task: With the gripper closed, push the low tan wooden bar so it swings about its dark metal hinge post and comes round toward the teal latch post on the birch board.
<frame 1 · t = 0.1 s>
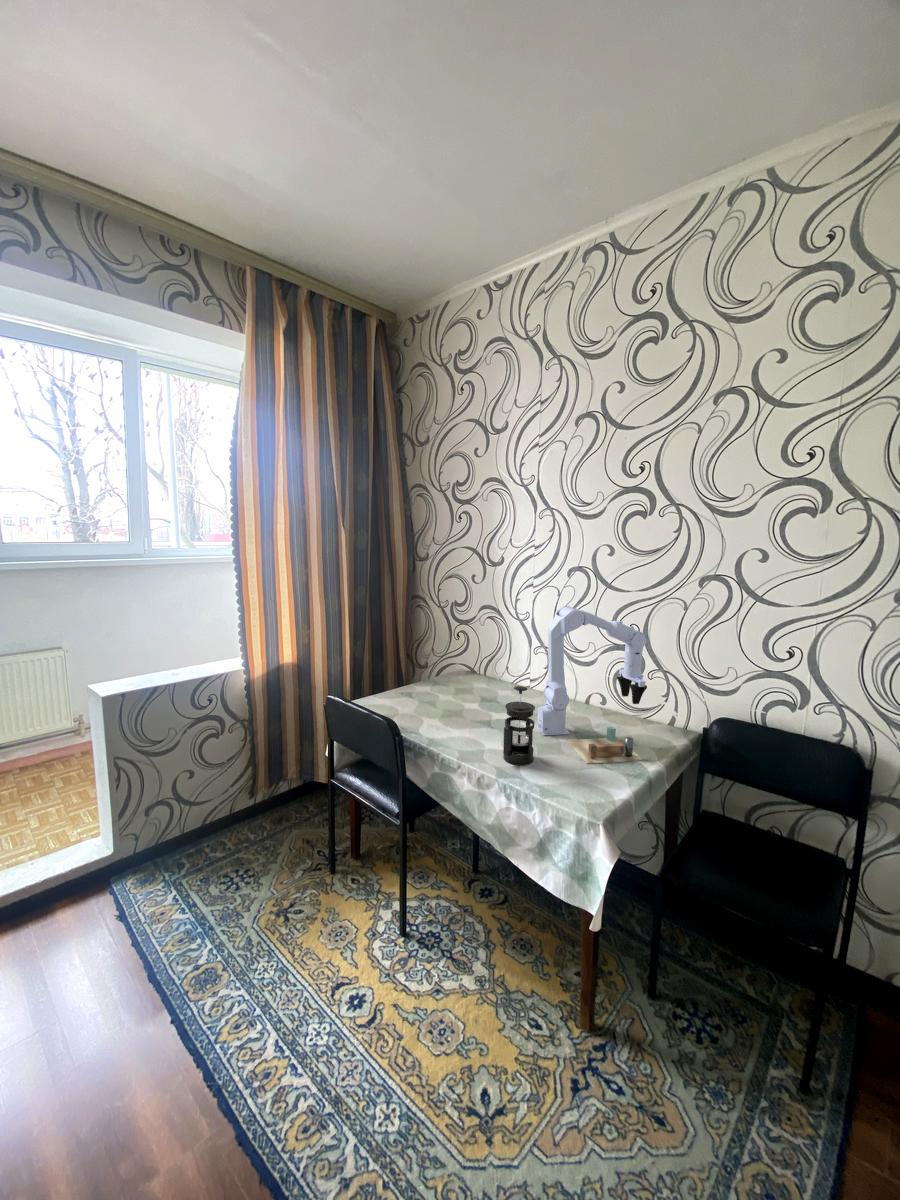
hand: (630, 699, 175), 10 cm above the table, fingers open, 7 cm apart
hinge post: (628, 756, 154), resting on board
board: (602, 750, 158), on the table
french press: (517, 759, 152), on the table
latch post: (610, 740, 165), resting on board
tan wooden bar: (606, 749, 152), point 3 cm above the table, hinge at 0.0°
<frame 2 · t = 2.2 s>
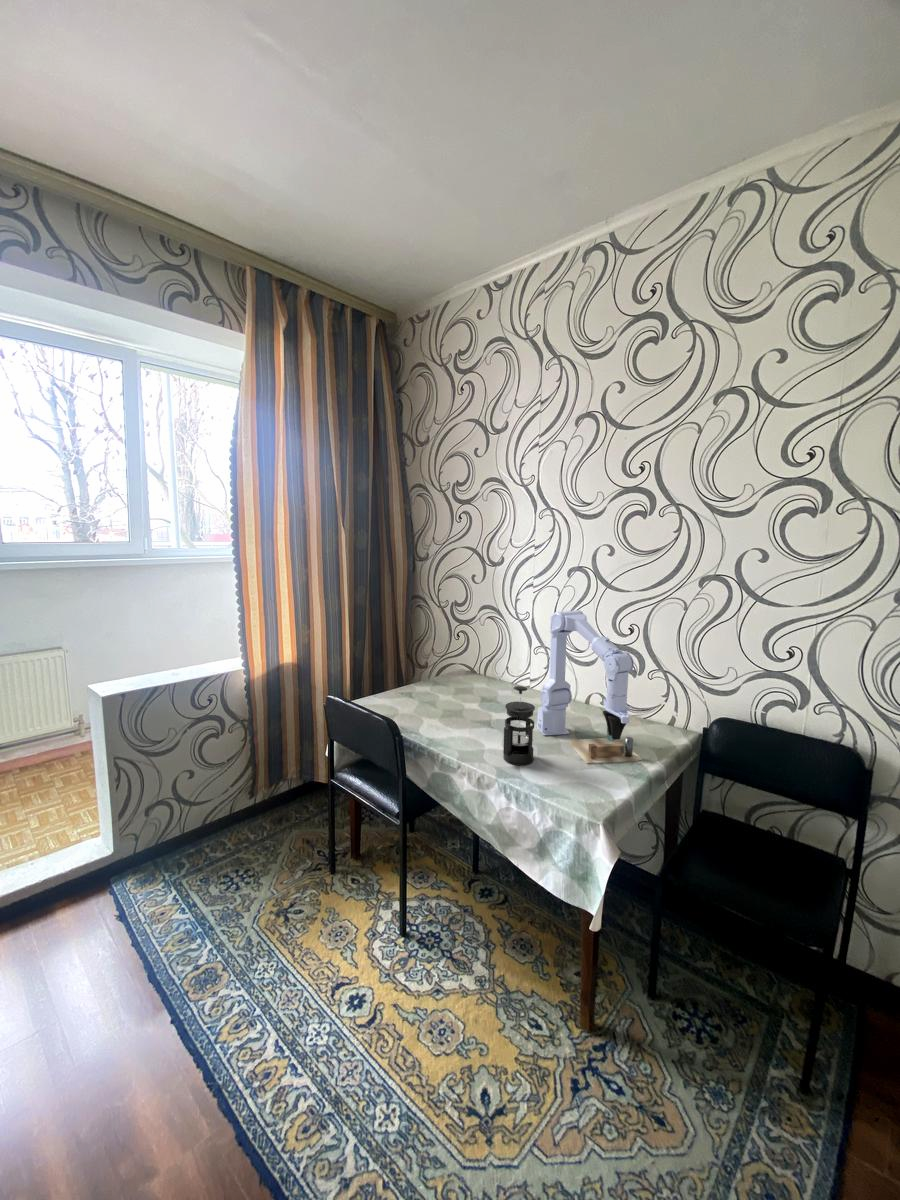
hand: (614, 737, 146), 9 cm above the table, fingers closed
nothing on the table moved.
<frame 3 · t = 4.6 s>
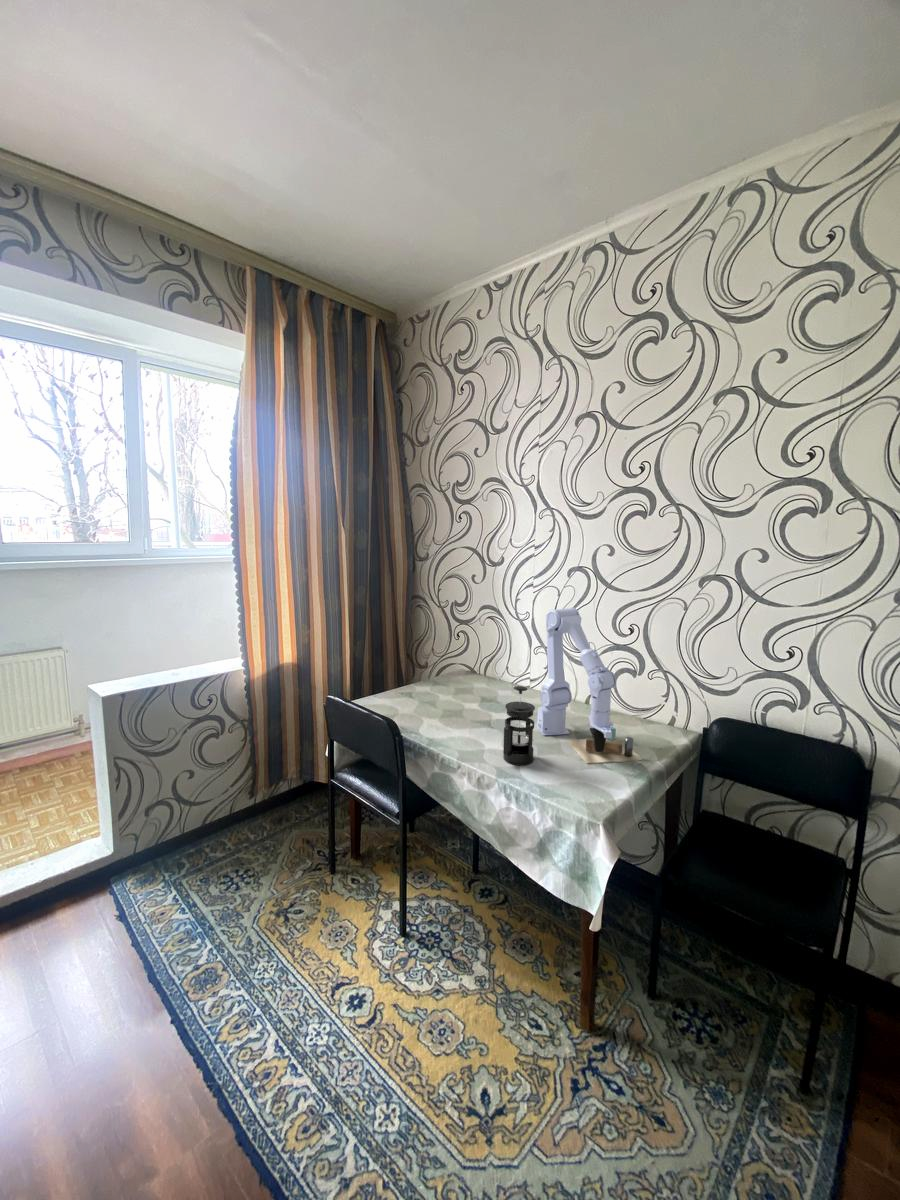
hand: (598, 751, 154), 2 cm above the table, fingers closed, pressing on tan wooden bar
tan wooden bar: (603, 745, 155), point 3 cm above the table, hinge at 20.0°, touching gripper
everything else where it was.
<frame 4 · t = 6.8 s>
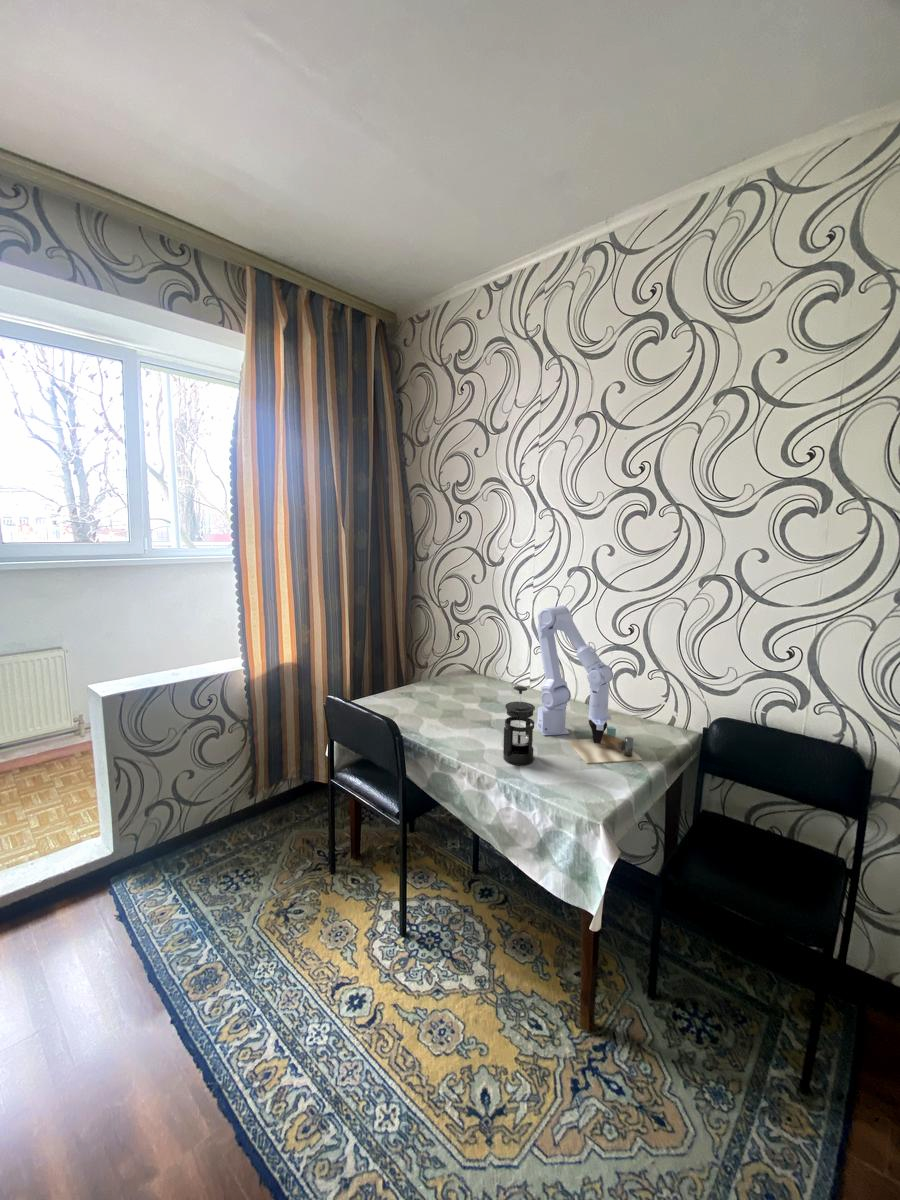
hand: (596, 742, 160), 1 cm above the table, fingers closed
tan wooden bar: (608, 739, 159), point 3 cm above the table, hinge at 62.1°, touching gripper
everything else where it was.
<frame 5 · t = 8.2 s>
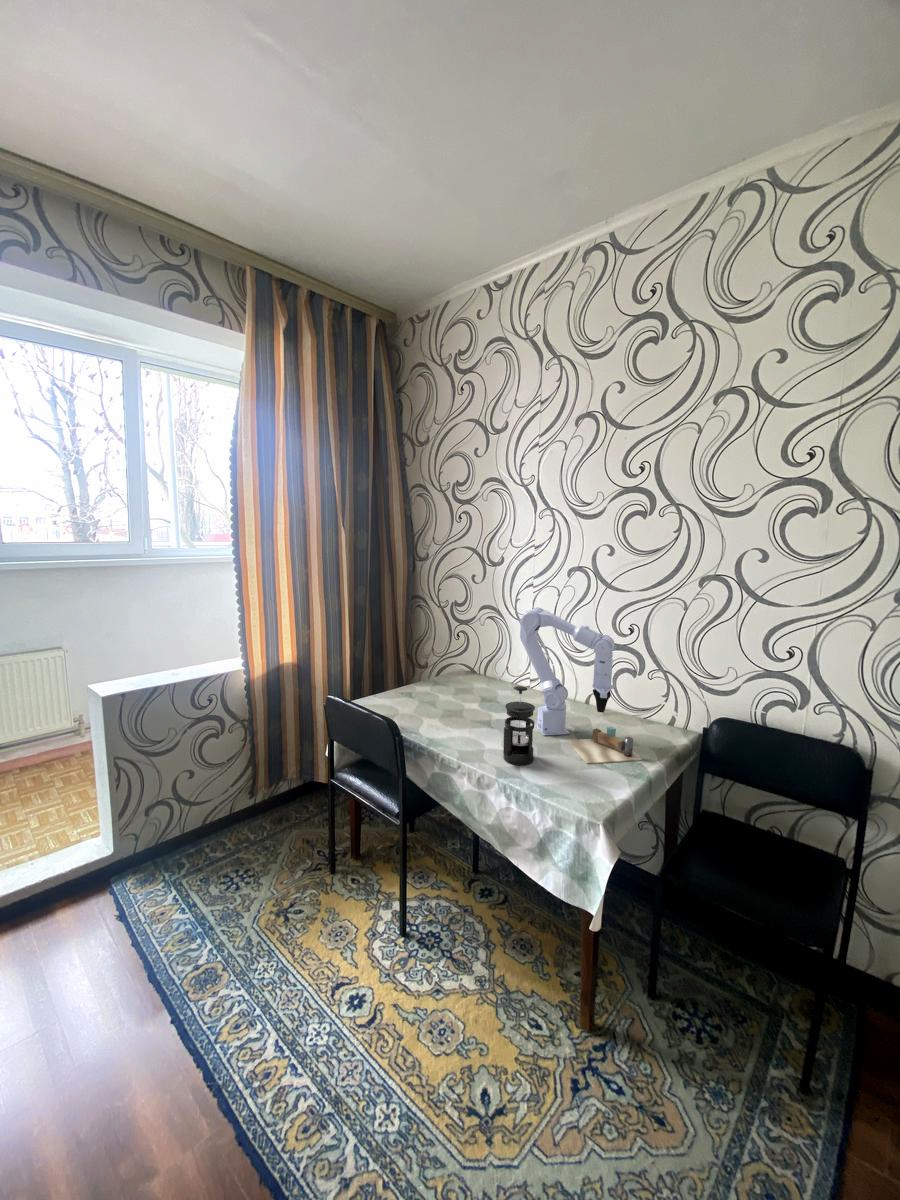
hand: (600, 711, 165), 10 cm above the table, fingers closed
tan wooden bar: (608, 739, 159), point 3 cm above the table, hinge at 62.1°
everything else where it was.
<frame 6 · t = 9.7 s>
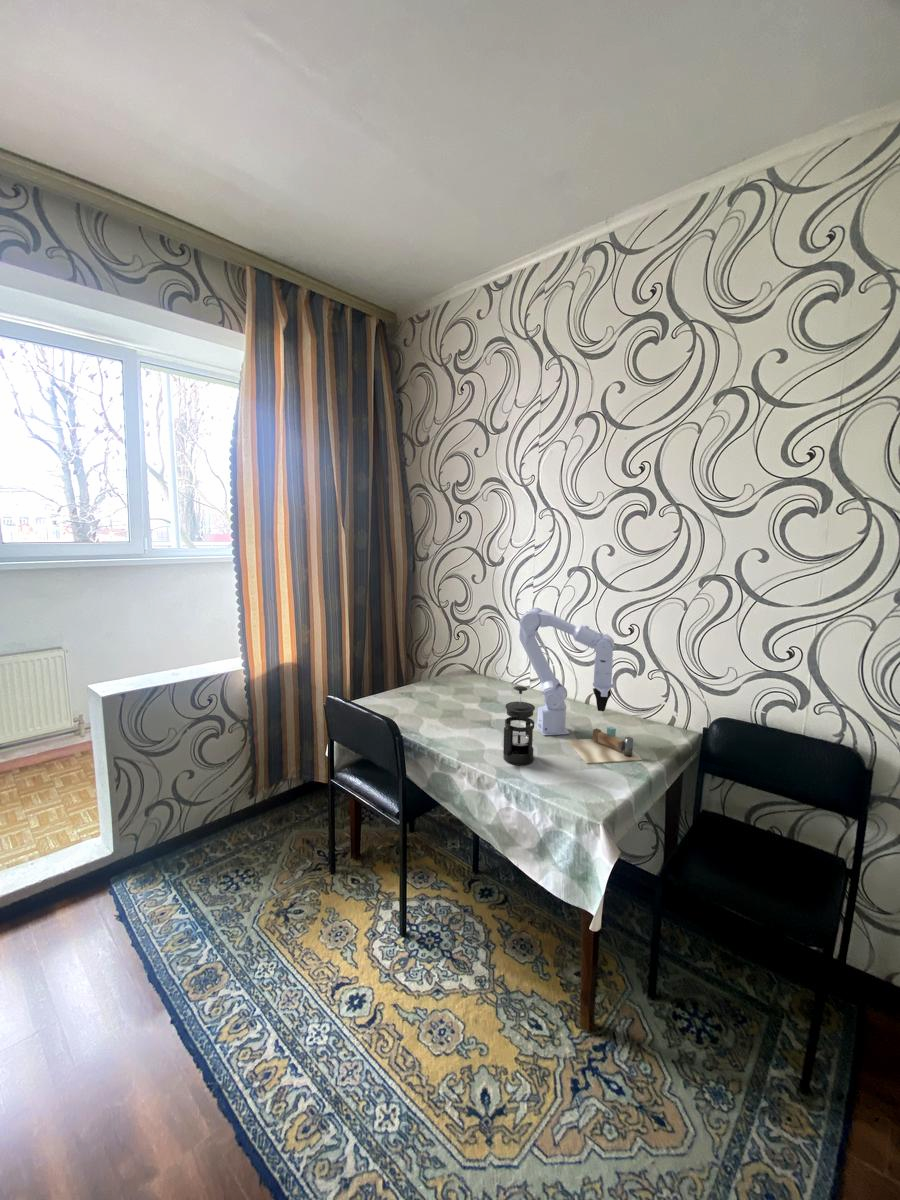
hand: (600, 710, 165), 10 cm above the table, fingers closed
nothing on the table moved.
at the end: tan wooden bar at +62° (first picture: +0°); the gripper is holding nothing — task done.
